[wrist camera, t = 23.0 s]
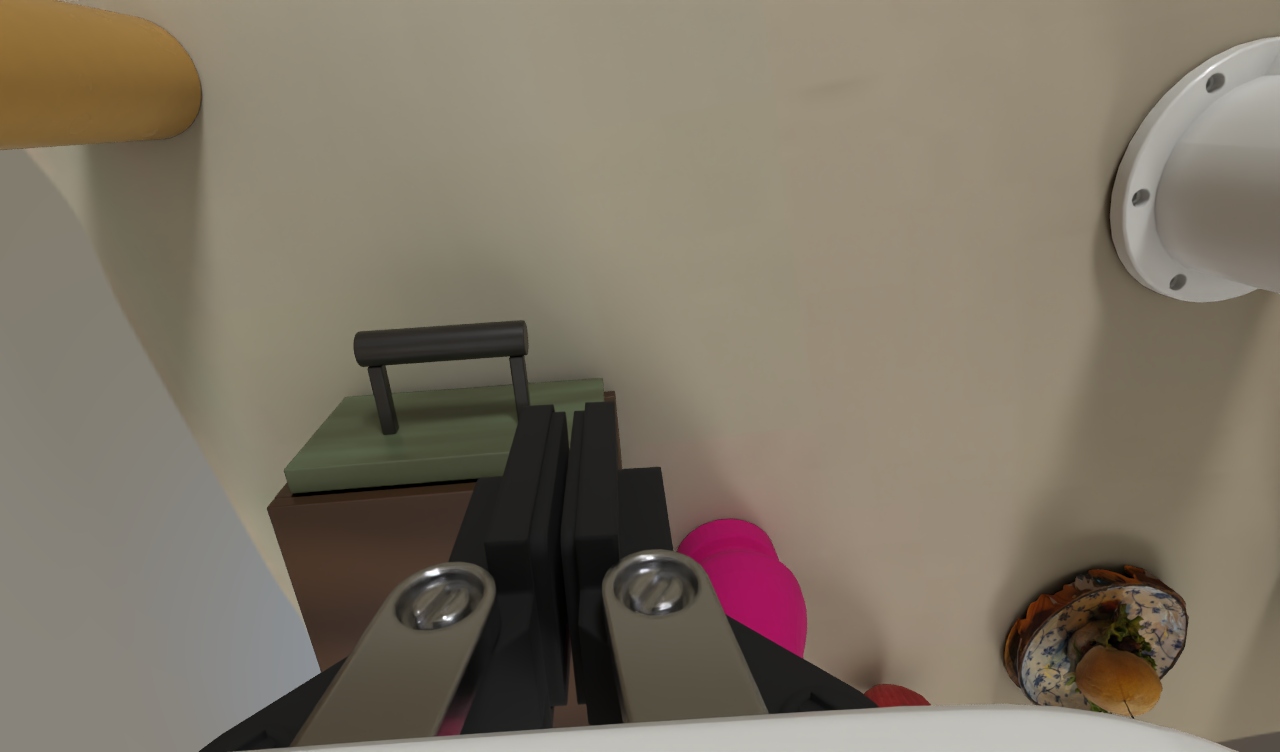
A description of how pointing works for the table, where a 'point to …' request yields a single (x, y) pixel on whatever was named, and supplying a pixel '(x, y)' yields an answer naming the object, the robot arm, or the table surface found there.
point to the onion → (895, 696)
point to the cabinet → (373, 558)
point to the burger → (1099, 643)
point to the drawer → (429, 414)
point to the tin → (89, 77)
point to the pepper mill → (750, 580)
